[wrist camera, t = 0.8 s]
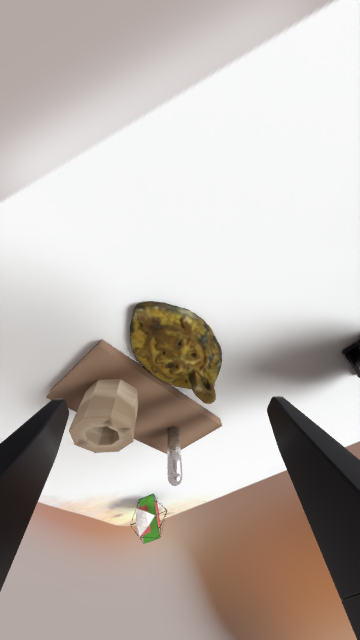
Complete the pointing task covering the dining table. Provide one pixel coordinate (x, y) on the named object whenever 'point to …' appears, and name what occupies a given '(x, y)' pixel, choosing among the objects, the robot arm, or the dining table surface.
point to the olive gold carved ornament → (176, 347)
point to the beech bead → (106, 417)
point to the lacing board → (153, 396)
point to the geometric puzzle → (148, 519)
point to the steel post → (174, 456)
